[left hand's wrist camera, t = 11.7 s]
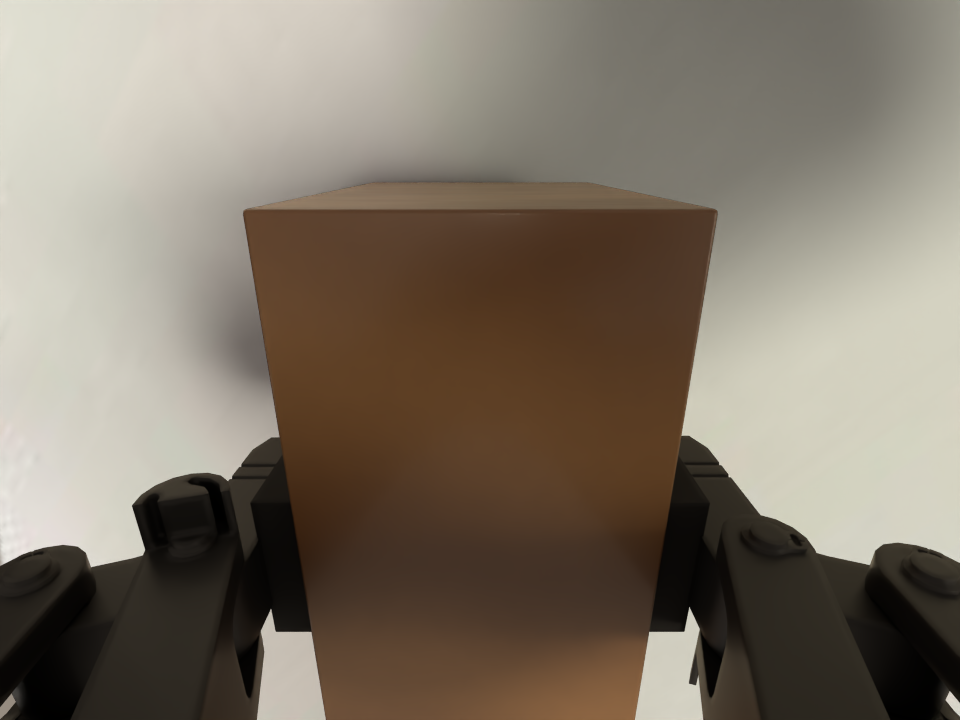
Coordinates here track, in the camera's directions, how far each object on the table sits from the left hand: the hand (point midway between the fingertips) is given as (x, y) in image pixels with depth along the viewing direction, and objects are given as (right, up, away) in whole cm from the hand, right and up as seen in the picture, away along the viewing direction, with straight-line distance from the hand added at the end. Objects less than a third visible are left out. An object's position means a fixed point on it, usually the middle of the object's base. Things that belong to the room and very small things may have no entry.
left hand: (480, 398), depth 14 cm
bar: (0, -33, +14) cm, 36 cm away
